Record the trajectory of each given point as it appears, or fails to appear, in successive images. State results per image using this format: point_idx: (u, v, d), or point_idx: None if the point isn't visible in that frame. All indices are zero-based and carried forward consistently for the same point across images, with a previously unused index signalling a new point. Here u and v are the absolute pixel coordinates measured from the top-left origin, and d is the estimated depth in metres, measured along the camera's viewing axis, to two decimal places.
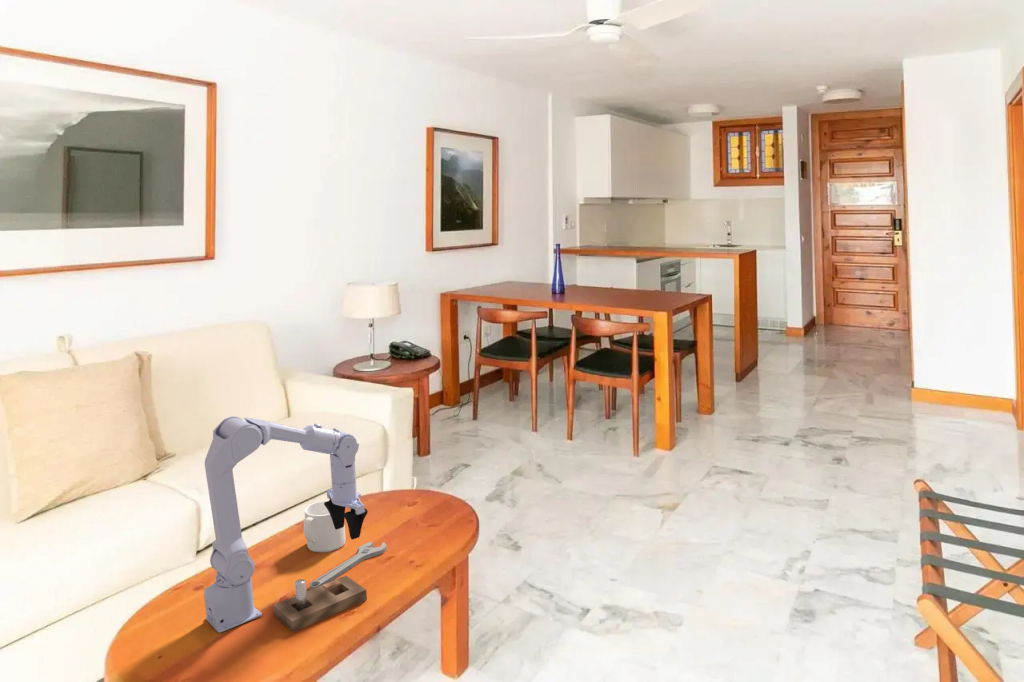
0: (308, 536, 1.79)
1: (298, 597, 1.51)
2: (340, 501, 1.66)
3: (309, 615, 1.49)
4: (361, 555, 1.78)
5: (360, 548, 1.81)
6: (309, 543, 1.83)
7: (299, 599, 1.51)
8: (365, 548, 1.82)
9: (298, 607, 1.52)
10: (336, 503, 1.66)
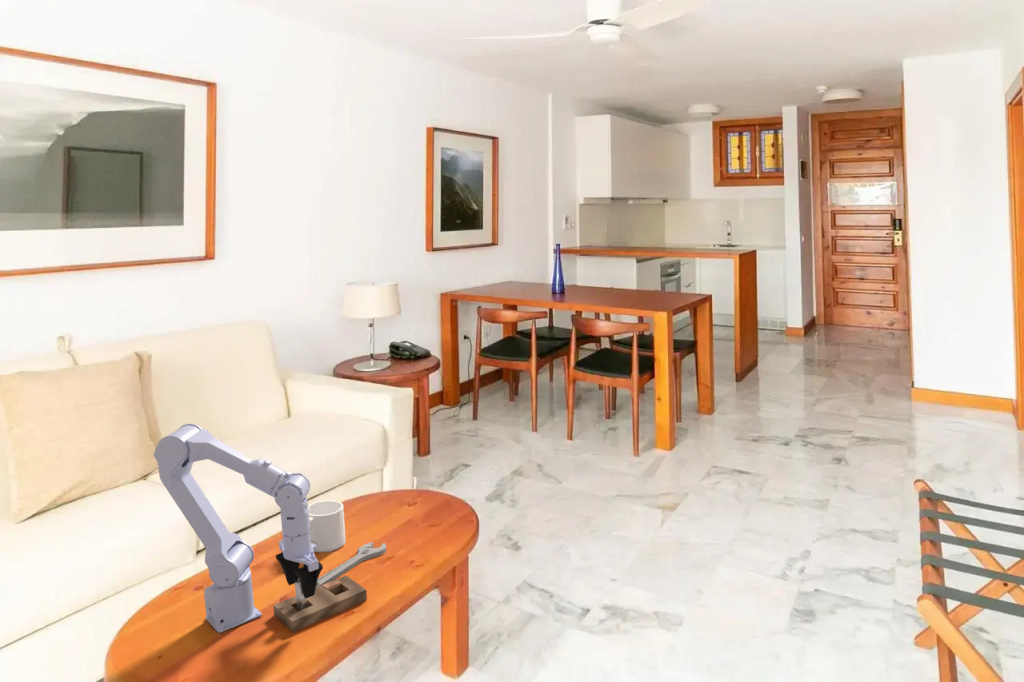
0: None
1: (298, 597, 1.51)
2: (291, 555, 1.48)
3: (309, 615, 1.49)
4: (361, 556, 1.77)
5: (360, 549, 1.81)
6: None
7: (299, 599, 1.51)
8: (365, 548, 1.81)
9: (298, 607, 1.52)
10: (287, 558, 1.48)
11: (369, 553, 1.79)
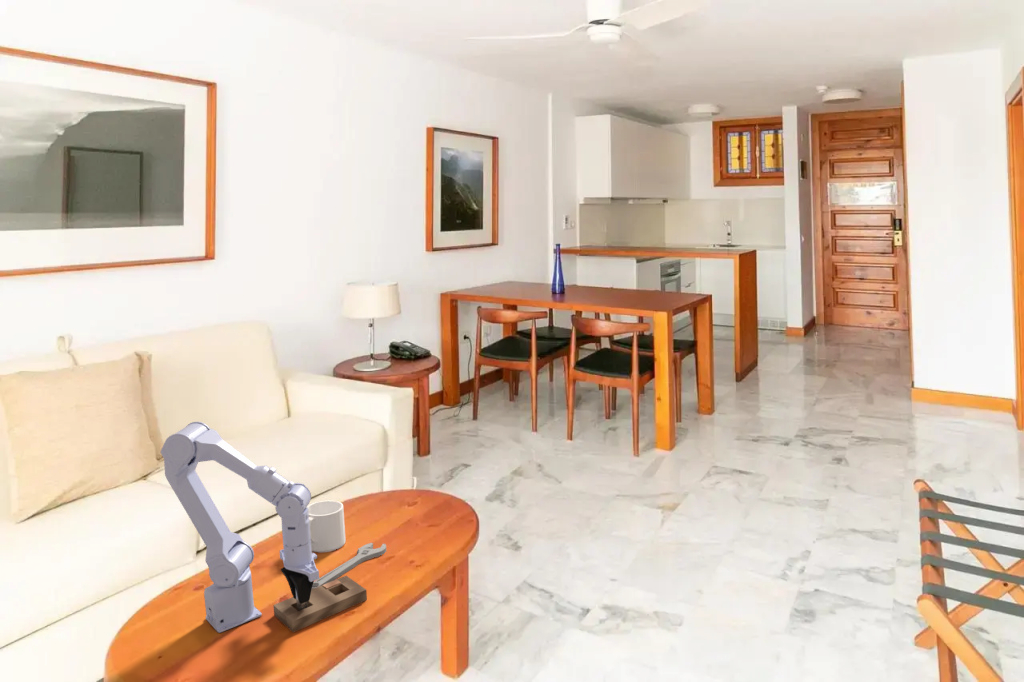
0: None
1: None
2: (292, 565, 1.48)
3: (309, 615, 1.49)
4: (361, 556, 1.77)
5: (360, 549, 1.81)
6: None
7: None
8: (365, 549, 1.81)
9: (298, 607, 1.52)
10: (288, 568, 1.48)
11: (369, 554, 1.78)
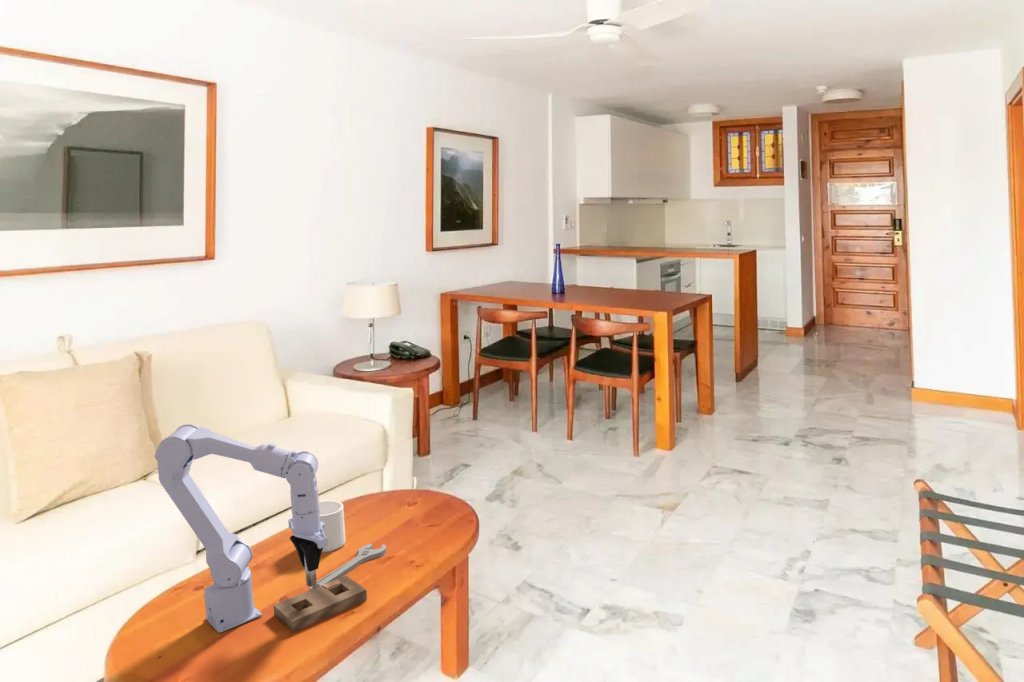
0: None
1: None
2: (301, 533, 1.49)
3: (309, 615, 1.49)
4: (361, 557, 1.77)
5: (360, 550, 1.80)
6: None
7: None
8: (365, 550, 1.80)
9: (307, 575, 1.52)
10: (297, 535, 1.49)
11: (369, 554, 1.78)
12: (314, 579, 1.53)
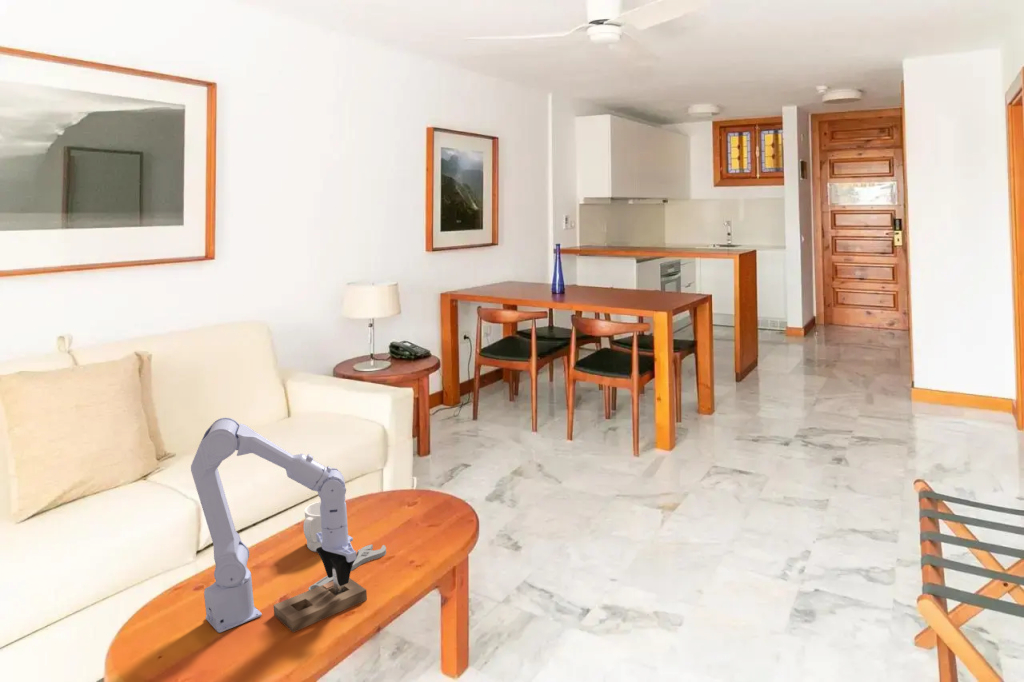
0: (308, 536, 1.79)
1: (336, 581, 1.57)
2: (330, 547, 1.54)
3: (309, 615, 1.49)
4: (361, 558, 1.76)
5: (360, 551, 1.80)
6: (309, 543, 1.83)
7: (336, 584, 1.57)
8: (365, 551, 1.80)
9: (335, 592, 1.58)
10: (326, 549, 1.54)
11: (369, 555, 1.77)
12: None
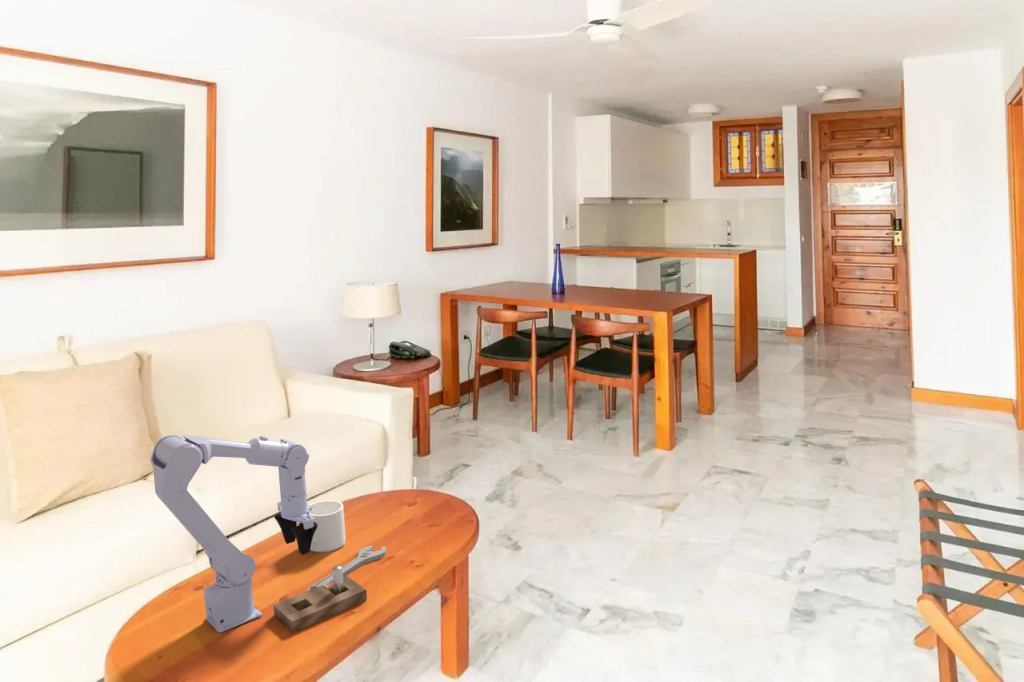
0: None
1: (336, 581, 1.57)
2: (288, 514, 1.58)
3: (309, 615, 1.49)
4: (360, 559, 1.76)
5: (359, 552, 1.79)
6: None
7: (336, 584, 1.57)
8: (365, 551, 1.79)
9: (335, 592, 1.58)
10: (284, 517, 1.58)
11: (369, 556, 1.77)
12: None
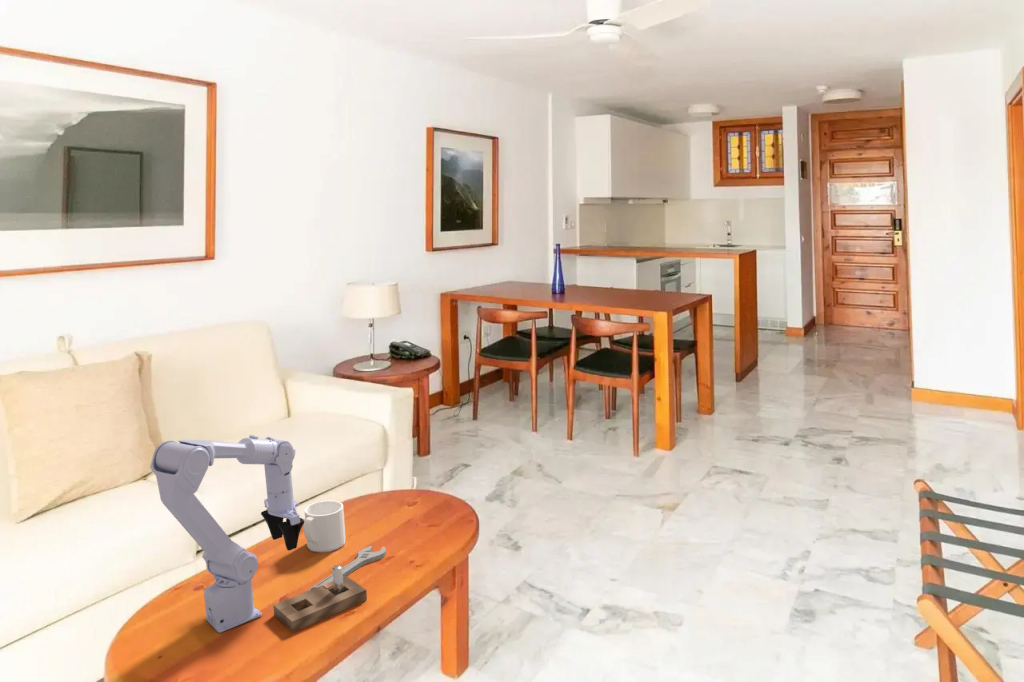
0: (308, 536, 1.79)
1: (336, 581, 1.57)
2: (275, 511, 1.60)
3: (309, 615, 1.49)
4: (360, 560, 1.75)
5: (359, 553, 1.79)
6: (309, 543, 1.83)
7: (336, 584, 1.57)
8: (364, 552, 1.79)
9: (335, 592, 1.58)
10: (271, 513, 1.60)
11: (369, 557, 1.76)
12: None
